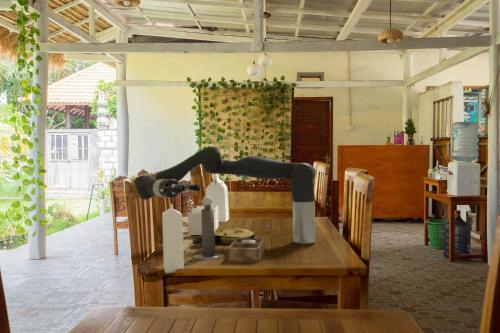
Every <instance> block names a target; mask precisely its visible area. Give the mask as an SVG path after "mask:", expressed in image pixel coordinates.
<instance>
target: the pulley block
mask: <svg viewBox="0 0 500 333" xmlns="http://www.w3.org/2000/svg"><path fill="white" fill-rule="evenodd" d="M255 236H256V234H255V233H254V232H253V230H251V229H249V228H247V227H242V228H229V229H223V230H219V231H215V245H231V244H232V242H233V241H234V240H235V239H236V238H255ZM191 245H202V236H198V237H197V238H194V239H193V241H192V243H191Z"/></svg>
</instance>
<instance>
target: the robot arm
mask: <svg viewBox="0 0 500 333" xmlns="http://www.w3.org/2000/svg"><path fill="white" fill-rule="evenodd" d="M220 151H221V150H220V149H219V148H218V147H217V146H207V147H204V148H202V149H200V150H199V151H197V152H196V153H194V154H192V155H191V156H189V157H187V158H186V159H185V160H183V161H181V162H179V163H177V164H175V165H174V166H172V167H169V168H167V169H164V170H161V171H160V172H157V173H156V174H155V177H152V176H150V175H146V174H143V175H138V176H137V177H136V178H135V179H134V182H135V185H136V187H135V189H136V188H137V190H136V191H138V192H137V193H138V194H137V195H138V196H139V198H140V199H141V200H144V201H146V200H150V199H152V198H153V197H160V198H168V199H170V198H171V199H173V198H176V197H178V195H179V194H183V193H184V194H185V193H190V192H199V191H200V190H201V187H200V185H198V184H197V183H179V181H182V180H183V179H184V177H185V176H186V175H188V173H189V172H191V171H192V170H193V169H194V168H196V167H199V166H200V165H201V166H202V168H203V170H204V172H206V173H208V174H214V175H215V174H218V175H235V176H241V177H242V176H244V177H248V178H255V179H263V180H268V179H269V180H270V179H271V180H277V179H282V180H287V181H288V180H289V181H290V184H291V185H290V186H291V189H290V190H291V197H292V222H293V223H292V229H293V230H292V231H293V232H292V233H293V237H292V238H293V243H296V244H300V245H301V244H304V245H305V244H316V205H315V202H316V199H315V197H316V196H315V192H314V180H315V178H316V175H317V172H316V169H315V168H314V167H313V165H311V163H307V162H300V163H299V162H285V161H280V160H278V159H277V160H276V159H272V158H267V157H263V156H255V155H254V156H253V155H250V156H245V157H242V158H239V159H237V160H226V159H223V158H222V154H221V152H220ZM134 182H133V183H134ZM135 185H134V186H135Z"/></svg>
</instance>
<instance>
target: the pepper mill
mask: <svg viewBox="0 0 500 333" xmlns="http://www.w3.org/2000/svg"><path fill="white" fill-rule="evenodd" d="M211 204H212V198H211V197H209V196H206V195H205V196H204V197H203V199H202V205H203V206H204V209H201V217H202V236H201V237H202V244H201V248H202V249H201V250H202V251H201V253H202V255H203V257H213V256H215V252H216V244H215V232H216V230H214V209H211Z"/></svg>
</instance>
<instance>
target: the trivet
mask: <svg viewBox="0 0 500 333" xmlns="http://www.w3.org/2000/svg"><path fill="white" fill-rule="evenodd" d="M224 256H225V255H224V253H222V252H216V251H215V256H213V257H203V255H202V252H201V253H196V254H194V255H193V258H195V259H199V260H214V259H215V260H217V259H220V258H223V257H224Z"/></svg>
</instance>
